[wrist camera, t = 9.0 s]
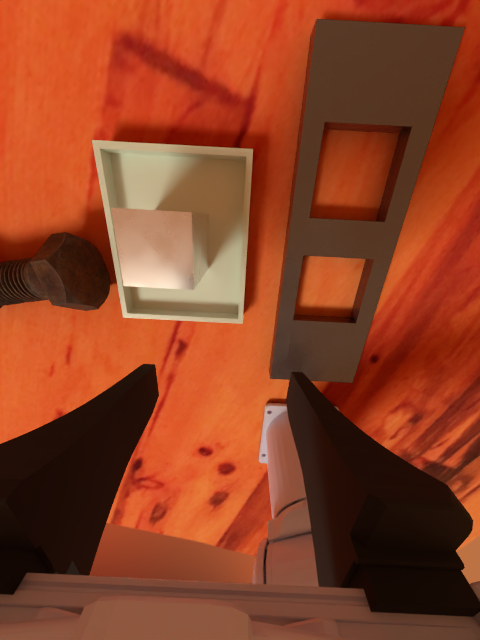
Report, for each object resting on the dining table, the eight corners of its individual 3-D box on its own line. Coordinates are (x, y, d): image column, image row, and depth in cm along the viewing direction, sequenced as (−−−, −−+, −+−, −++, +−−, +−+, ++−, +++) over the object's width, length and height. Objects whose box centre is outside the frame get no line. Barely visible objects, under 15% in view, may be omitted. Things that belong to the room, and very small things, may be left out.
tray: (242, 315, 21) (242, 323, 19) (132, 309, 21) (123, 317, 19) (252, 156, 16) (253, 148, 14) (107, 148, 16) (91, 140, 14)
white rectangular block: (208, 268, 18) (193, 290, 13) (159, 265, 18) (123, 285, 13) (208, 214, 17) (191, 212, 11) (154, 210, 17) (110, 207, 11)
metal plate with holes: (347, 375, 23) (352, 382, 22) (269, 370, 23) (270, 378, 22) (446, 42, 13) (464, 27, 12) (310, 35, 13) (316, 18, 12)
